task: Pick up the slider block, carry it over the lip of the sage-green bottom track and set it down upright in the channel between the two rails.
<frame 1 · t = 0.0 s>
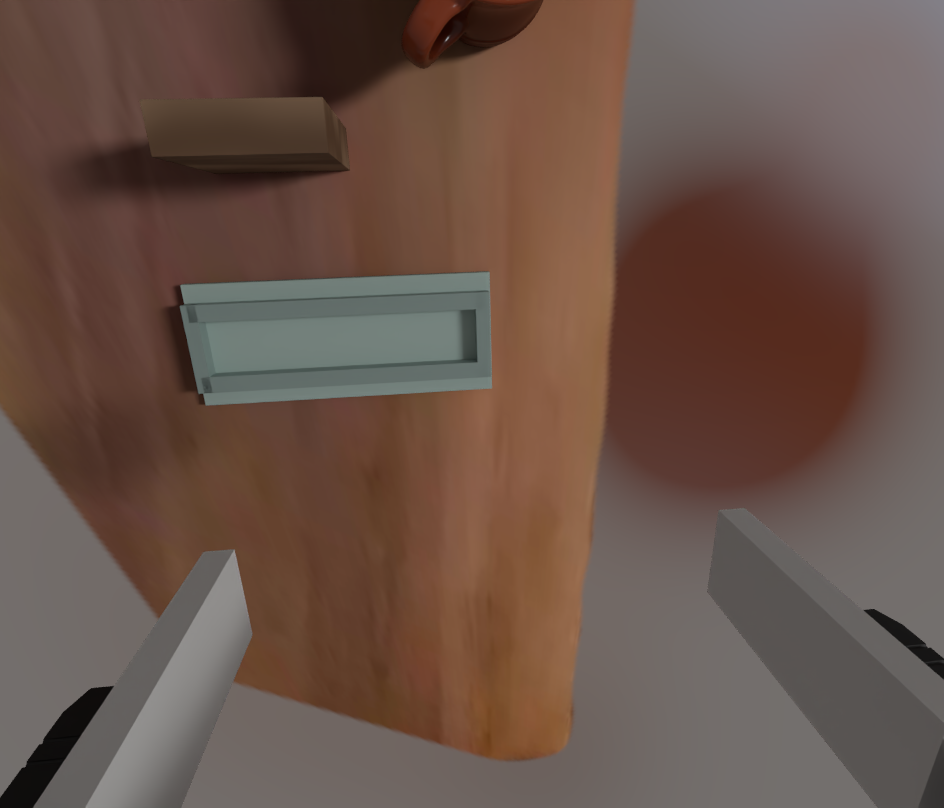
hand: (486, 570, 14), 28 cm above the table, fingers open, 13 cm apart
slider block: (280, 151, 35), on the table
track base: (346, 337, 40), on the table
mug: (466, 11, 34), on the table
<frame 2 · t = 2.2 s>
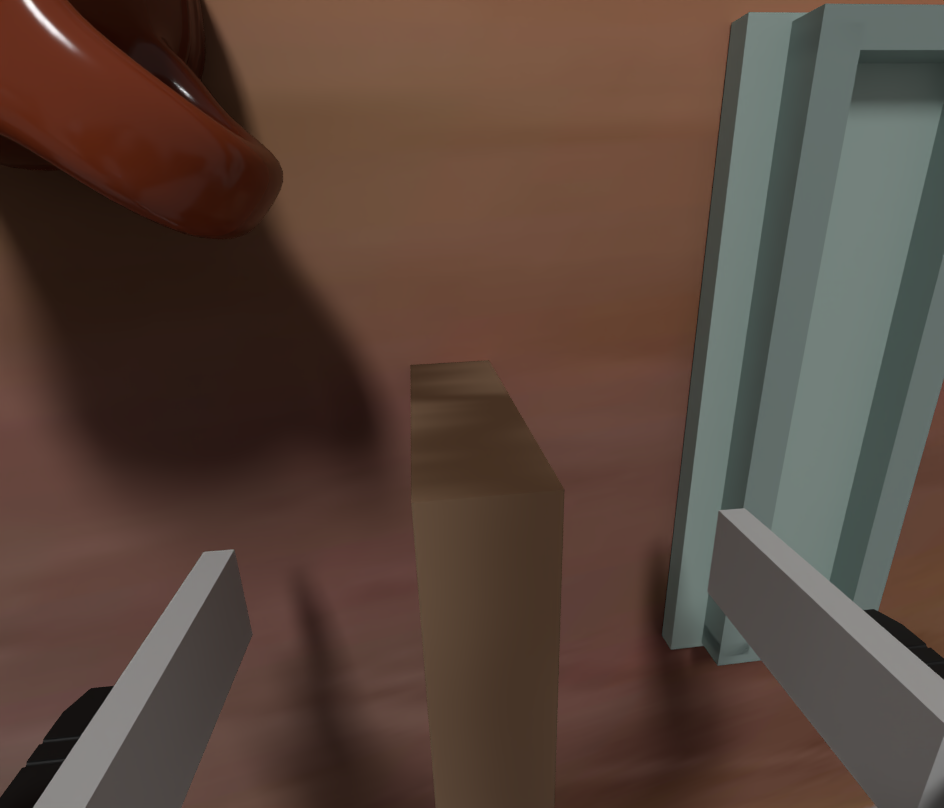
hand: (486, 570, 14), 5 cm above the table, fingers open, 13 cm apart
slider block: (455, 483, 19), on the table
track base: (807, 381, 19), on the table
mug: (134, 68, 14), on the table
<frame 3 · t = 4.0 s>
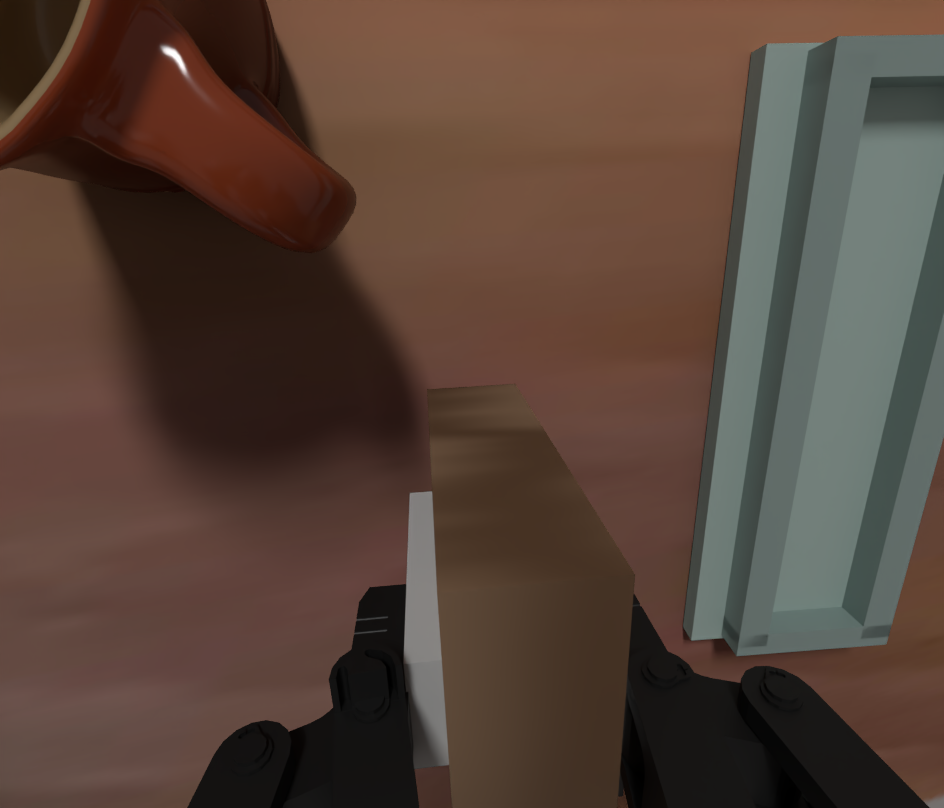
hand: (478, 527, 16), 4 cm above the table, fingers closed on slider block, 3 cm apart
slider block: (476, 520, 17), point 4 cm above the table, touching gripper
track base: (825, 385, 20), on the table
mug: (217, 102, 16), on the table
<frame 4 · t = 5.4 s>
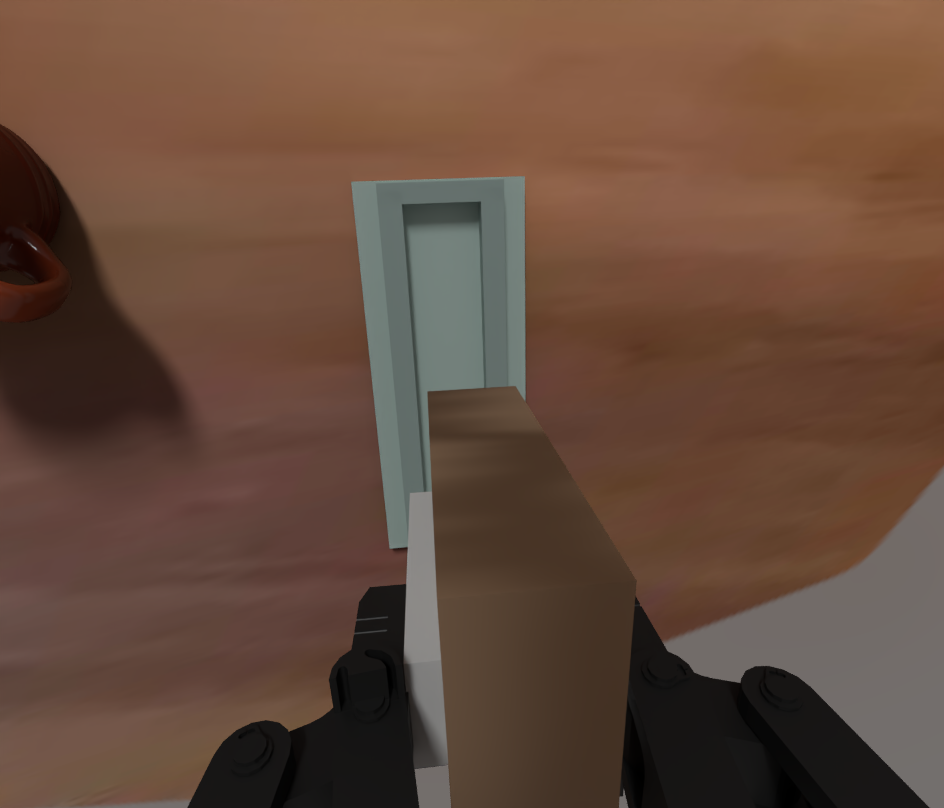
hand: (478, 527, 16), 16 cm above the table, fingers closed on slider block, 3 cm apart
slider block: (476, 522, 17), point 16 cm above the table, touching gripper
track base: (449, 378, 31), on the table
mug: (26, 215, 26), on the table
when the fingers open (3 cm above the table, at t = 7.1 s): slider block drops 2 cm, resting on track base.
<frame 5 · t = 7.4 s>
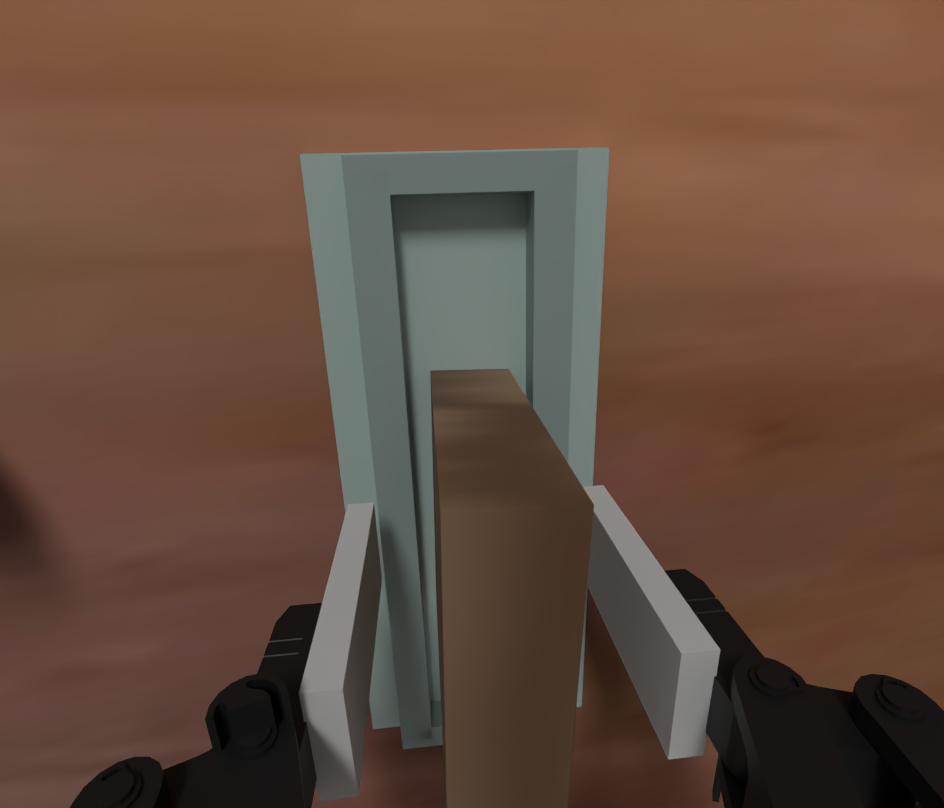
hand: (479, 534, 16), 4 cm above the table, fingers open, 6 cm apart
slider block: (469, 490, 19), point 1 cm above the table, touching track base
track base: (468, 478, 19), on the table
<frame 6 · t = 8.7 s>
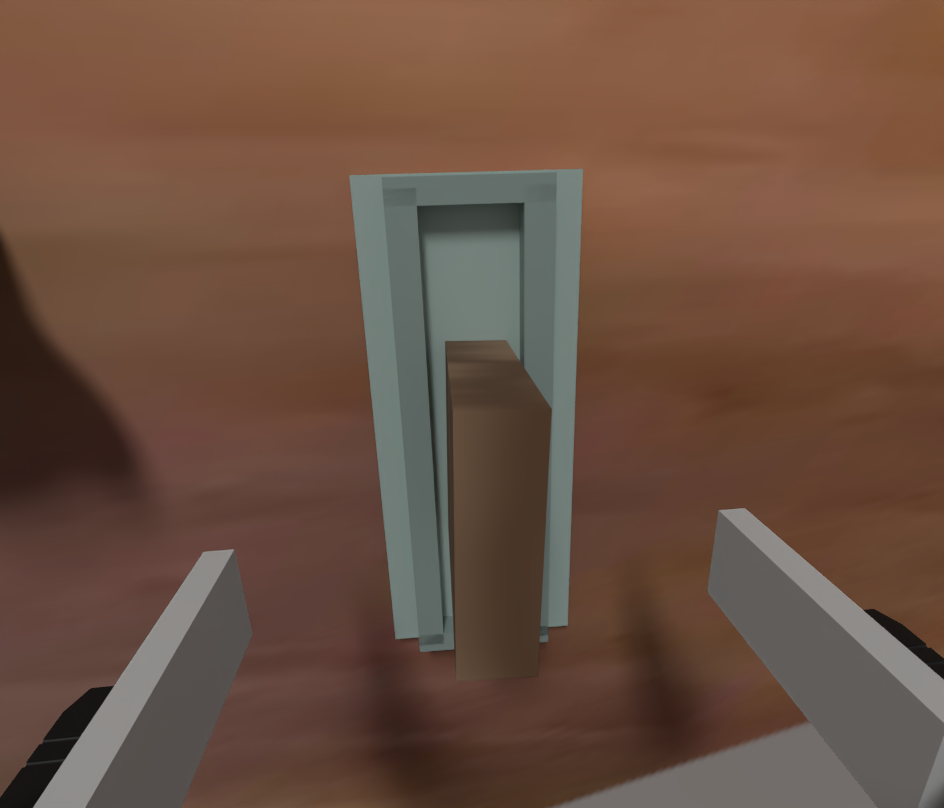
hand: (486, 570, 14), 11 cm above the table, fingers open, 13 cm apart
slider block: (475, 438, 23), point 1 cm above the table, touching track base
track base: (474, 430, 24), on the table
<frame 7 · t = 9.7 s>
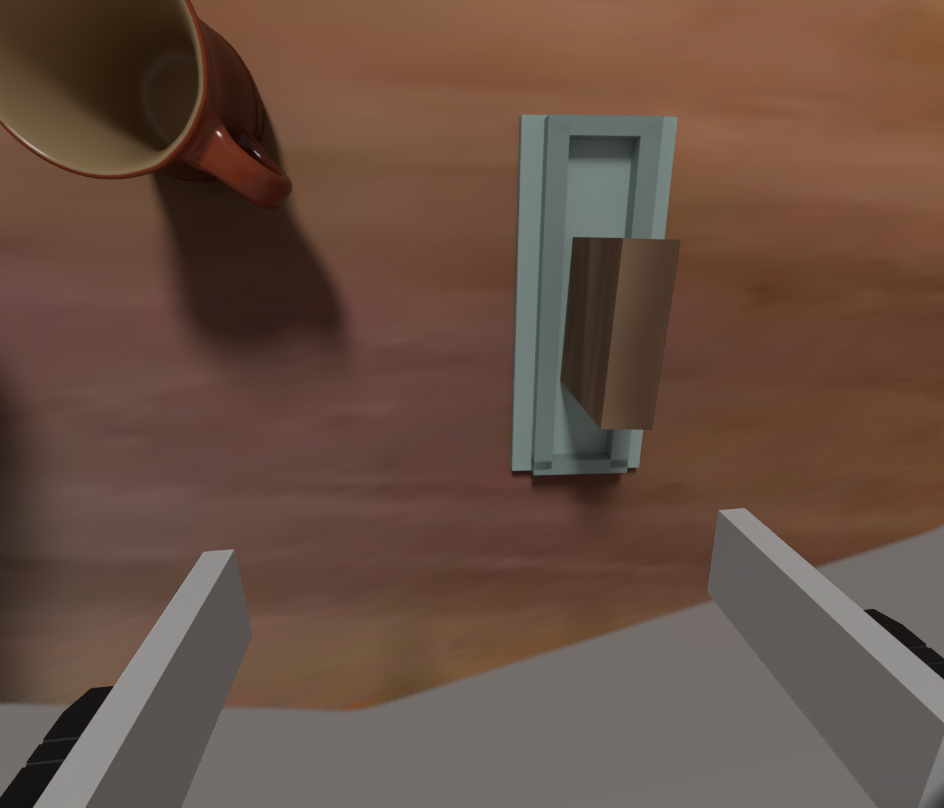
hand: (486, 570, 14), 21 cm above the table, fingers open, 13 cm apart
slider block: (586, 312, 33), point 1 cm above the table, touching track base
track base: (583, 309, 33), on the table
mug: (230, 134, 29), on the table
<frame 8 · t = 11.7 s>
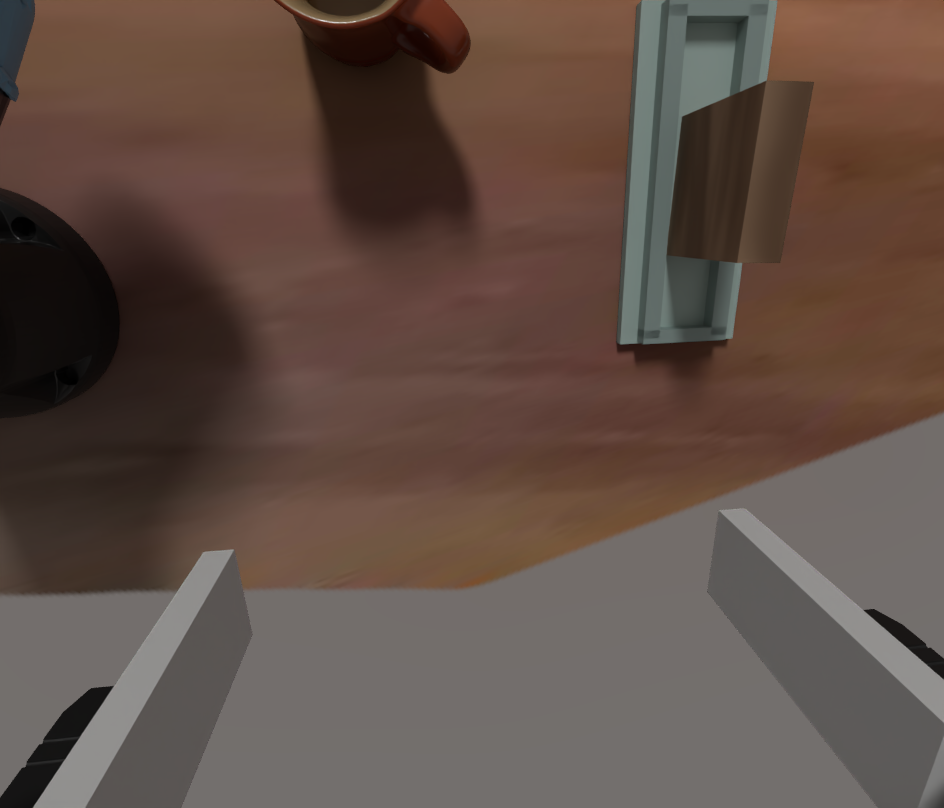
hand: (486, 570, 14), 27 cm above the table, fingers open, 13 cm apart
slider block: (691, 188, 36), point 1 cm above the table, touching track base
track base: (686, 188, 37), on the table
mug: (379, 25, 32), on the table
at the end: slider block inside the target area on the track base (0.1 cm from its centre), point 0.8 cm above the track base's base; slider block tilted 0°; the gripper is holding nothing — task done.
